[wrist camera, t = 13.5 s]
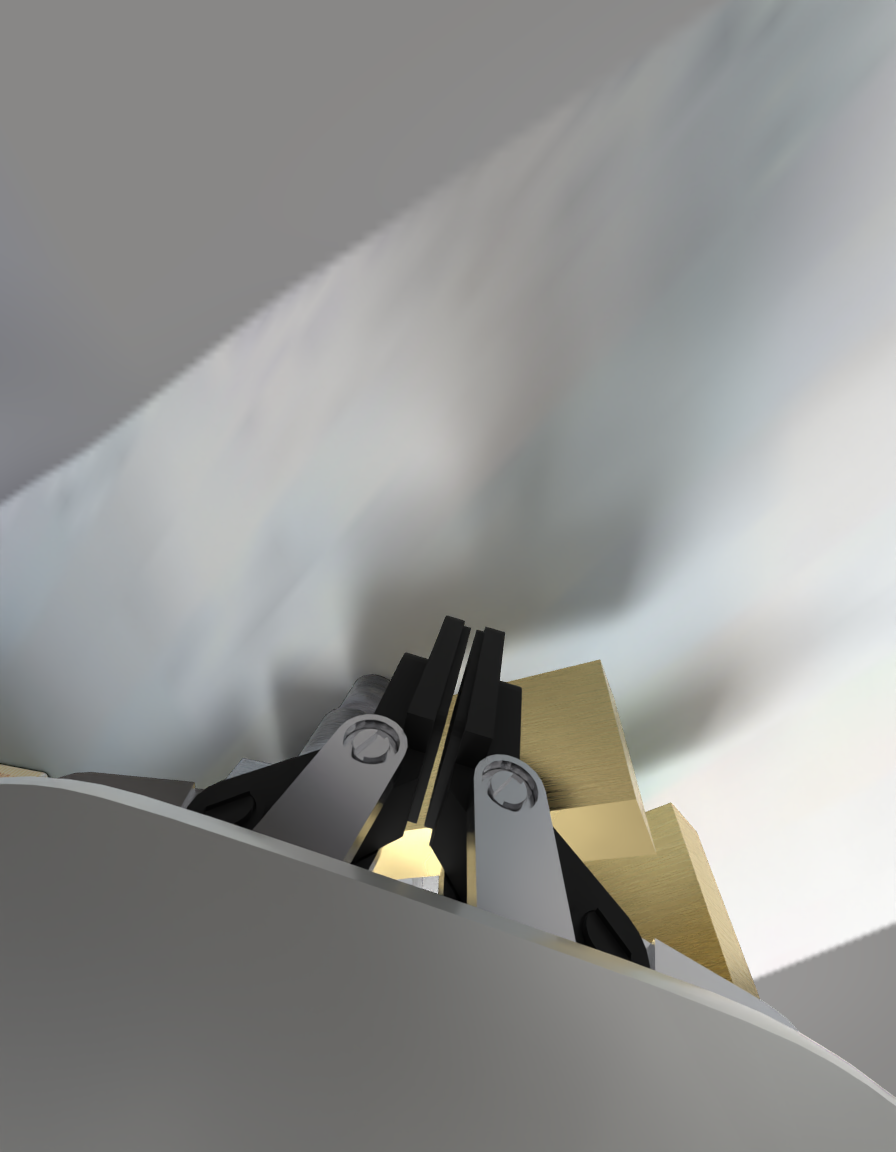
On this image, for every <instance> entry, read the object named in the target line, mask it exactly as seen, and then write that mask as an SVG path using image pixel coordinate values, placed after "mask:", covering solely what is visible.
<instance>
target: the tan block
mask: <svg viewBox="0 0 896 1152" xmlns="http://www.w3.org/2000/svg"><path fill="white" fill-rule="evenodd" d="M389 683H390V681H389V680H388V679H386V678H384V677H382V676H378V675H365V676H363V677H361V678H359V679H358V680H357V681H356V682H355V684H354V685H353V687H352V688H351V690H350V691H349V693H348V695H347V696H346V698H345V699H344V701H343V703H342V704H341V706H340V707H339V709H335V710H333V711H331V712H329V713H328V714H327V715H326V716H325V717H324V718H323V720H322V721H321V723H320V724H319V726H318V727H317V729H316V730H315V732H314V733H313V735H312V736H311V738H310V739H309V741H308V742H307V744H306V745H305V747H304V748H303V750H302V751H301V753H300V754H299V756H301V755H304V754H307V753H310V752H313V751H316V750H319V749H322V747H323V746H324V745H325V744H326V743H327V742H328V740H329V739H330V738H331V737H332V736H333V734H334V733H335V732H336V731H337V730H338V729H339V727H340V726H341V725H343V724H344V723H345V722H346V721H347V720H349V719H351V718H353V717H356V716H359V715H365V714H374V712H375V710H376V708H377V706H378V704H379V702H380V700H381V698H382V696H383V694H384V692H385V690H386V688H387V686H388V684H389ZM506 683H509V684H513V685H516V686H520V687H521V688H522V710H521V740H520V760H521V761H523V762H524V763H526V764H527V765H529V766H530V767H531V768H532V769H533V770H534V771H535V772H536V773H537V775H538V776H539V778H540V779H541V780H542V783H543V785H544V788H545V791H546V795H547V800H548V805H549V810H550V815H551V820H552V825H553V827H554V828H555V829H556V831H557V832H558V833H559V834H560V835H561V837H562V838H563V839H564V840H565V841H566V843H567V844H568V845H569V846H570V847H571V849H572V850H573V851H574V852H575V853H576V855H577V856H578V857H579V858H580V859H581V861H582V862H583V861H593V860H603V859H614V858H624V857H634V856H644V855H655V854H656V850H655V847H654V843H653V839H652V836H651V832H650V828H649V825H648V821H647V817H646V814H645V810H644V806H643V802H642V799H641V795H640V791H639V788H638V784H637V780H636V777H635V773H634V769H633V766H632V762H631V758H630V755H629V751H628V747H627V744H626V740H625V736H624V733H623V729H622V725H621V722H620V718H619V714H618V711H617V707H616V703H615V700H614V697H613V694H612V691H611V689H610V686H609V683H608V680H607V677H606V675H605V672H604V669H603V666H602V663H601V661H600V660H596V661H592V662H588V663H584V664H580V665H576V666H571V667H567V668H563V669H559V670H555V671H551V672H547V673H542V674H538V675H534V676H530V677H526V678H522V679H518V680H513V681H509V682H506ZM457 695H458V694H456V695H453V697H452V701H451V705H450V709H449V712H448V716H447V720H446V723H445V727H444V730H443V734H442V737H441V741H440V744H439V748H438V751H437V755H436V758H435V762H434V765H433V769H432V772H431V776H430V779H429V783H428V786H427V790H426V793H425V797H424V800H423V804H422V807H421V811H420V814H419V818H418V821H417V824H415V823H412V822H409V821H407V825H406V828H405V832H404V835H403V837H401V838H399V839H397V840H395V841H394V842H392V843H390V844H388V845H386V846H384V847H383V849H382V852H381V855H380V858H379V860H378V862H377V864H376V866H375V868H374V870H373V871H372V872H375V873H378V874H381V875H384V876H387V877H390V878H393V879H395V880H397V879H408V878H418V877H428V876H438V875H440V870H441V864H440V862H439V860H438V859H437V857H436V855H435V854H434V852H433V850H432V848H431V846H429V842H430V838H431V833H432V829H430V828H427V827H424V823H425V819H426V815H427V811H428V807H429V803H430V799H431V795H432V791H433V787H434V784H435V780H436V776H437V772H438V768H439V764H440V760H441V756H442V752H443V748H444V744H445V740H446V736H447V732H448V728H449V725H450V721H451V717H452V713H453V709H454V706H455V702H456V699H457Z"/></svg>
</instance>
